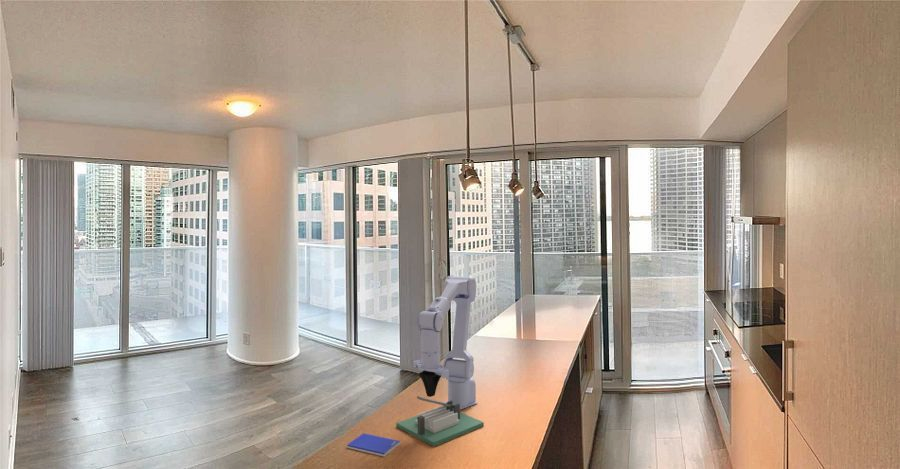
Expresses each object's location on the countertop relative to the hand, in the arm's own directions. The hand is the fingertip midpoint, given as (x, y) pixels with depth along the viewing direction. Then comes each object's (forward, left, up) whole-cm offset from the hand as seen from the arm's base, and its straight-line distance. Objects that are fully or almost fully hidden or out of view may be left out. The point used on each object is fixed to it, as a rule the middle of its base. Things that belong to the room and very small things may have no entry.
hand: (430, 395), depth 144 cm
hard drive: (+18, -3, -11) cm, 22 cm away
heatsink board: (-4, 0, -10) cm, 11 cm away
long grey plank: (-2, 0, -3) cm, 4 cm away
